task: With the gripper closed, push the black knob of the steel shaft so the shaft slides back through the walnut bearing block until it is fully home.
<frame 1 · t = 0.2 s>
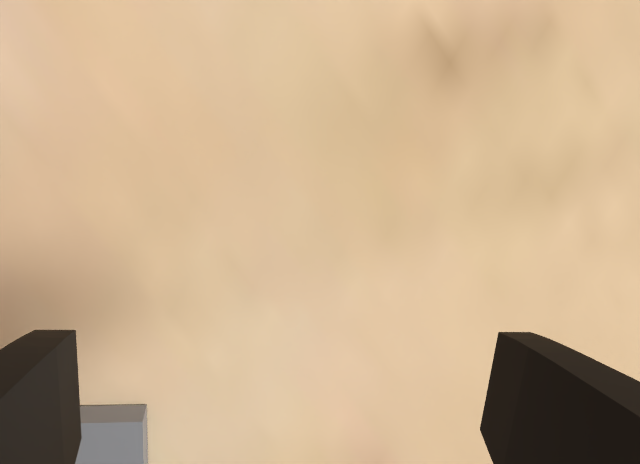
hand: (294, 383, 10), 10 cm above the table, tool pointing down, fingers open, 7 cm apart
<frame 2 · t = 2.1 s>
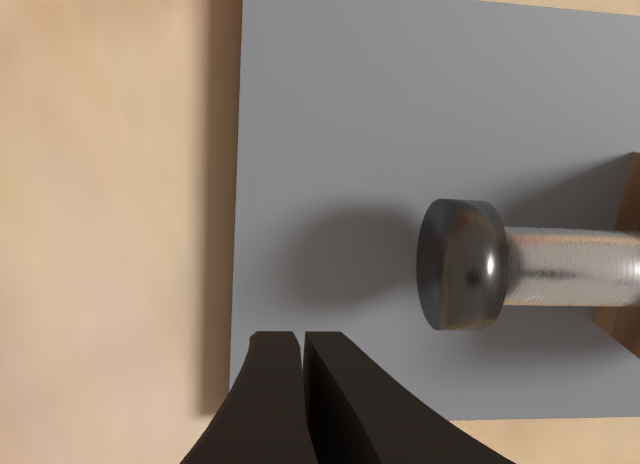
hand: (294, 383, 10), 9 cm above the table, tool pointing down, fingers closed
base board: (528, 228, 20), on the table
shaft: (610, 268, 17), point 4 cm above the table, slide at 5.0 cm
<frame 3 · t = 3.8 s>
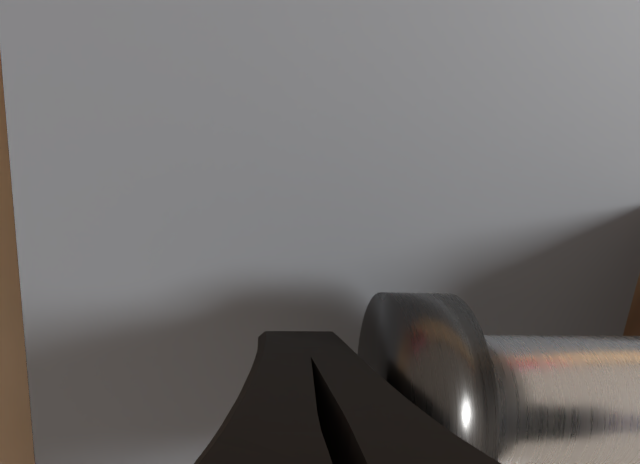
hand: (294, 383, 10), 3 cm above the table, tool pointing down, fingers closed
base board: (499, 308, 14), on the table
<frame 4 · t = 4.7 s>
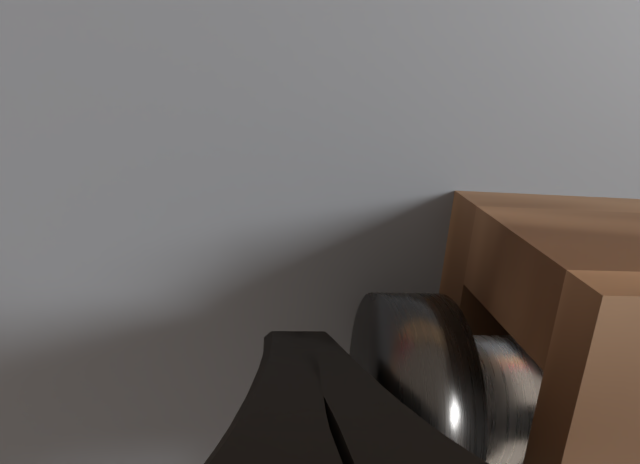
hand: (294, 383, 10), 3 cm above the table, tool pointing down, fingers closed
base board: (309, 306, 13), on the table
bearing block: (522, 309, 14), resting on base board
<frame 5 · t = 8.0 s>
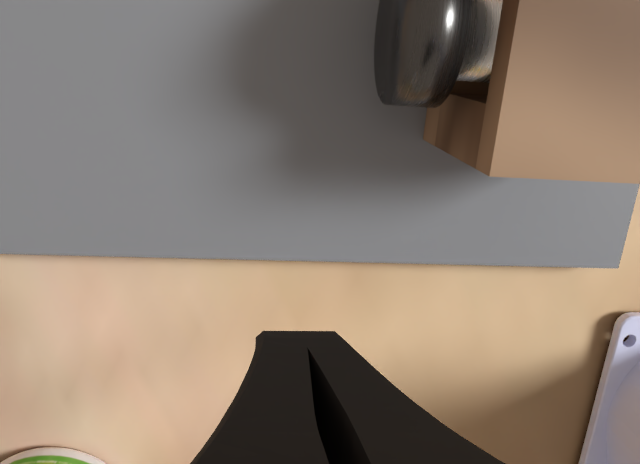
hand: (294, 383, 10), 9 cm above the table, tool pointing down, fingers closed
base board: (344, 27, 17), on the table
shaft: (594, 45, 15), point 4 cm above the table, slide at 0.0 cm
bearing block: (504, 41, 18), resting on base board
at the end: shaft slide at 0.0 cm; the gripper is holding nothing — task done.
